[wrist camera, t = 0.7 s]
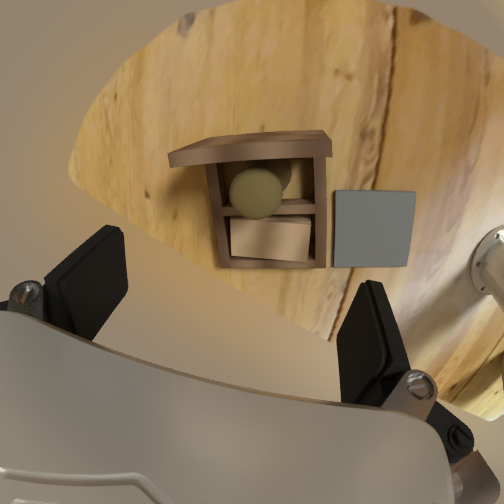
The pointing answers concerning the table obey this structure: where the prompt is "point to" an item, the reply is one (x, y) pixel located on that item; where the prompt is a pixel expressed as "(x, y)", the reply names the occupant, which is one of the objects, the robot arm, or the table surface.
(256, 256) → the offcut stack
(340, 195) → the slate mat
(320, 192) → the open walnut box
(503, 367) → the plant pot
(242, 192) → the olive pawn
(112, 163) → the table surface
